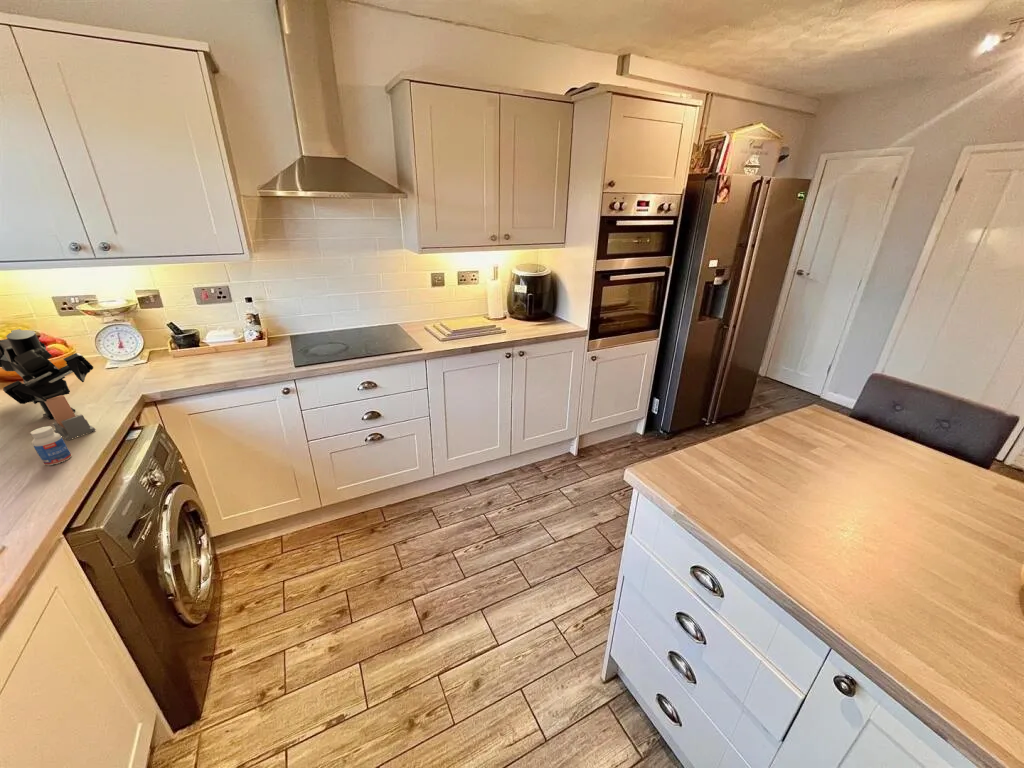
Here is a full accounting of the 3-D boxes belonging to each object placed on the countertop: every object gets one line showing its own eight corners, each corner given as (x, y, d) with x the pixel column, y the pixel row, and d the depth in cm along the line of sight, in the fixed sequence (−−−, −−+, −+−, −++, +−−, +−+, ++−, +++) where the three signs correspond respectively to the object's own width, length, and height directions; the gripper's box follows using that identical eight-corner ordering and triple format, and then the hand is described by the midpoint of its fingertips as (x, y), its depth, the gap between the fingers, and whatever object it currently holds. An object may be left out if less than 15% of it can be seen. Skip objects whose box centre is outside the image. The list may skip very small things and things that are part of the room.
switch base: (55, 433, 126) (45, 416, 124) (82, 423, 131) (73, 407, 129) (68, 440, 122) (58, 423, 119) (95, 430, 127) (86, 413, 124)
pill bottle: (54, 467, 110) (35, 436, 106) (39, 465, 111) (19, 434, 107) (77, 455, 115) (60, 425, 111) (63, 453, 116) (45, 424, 112)
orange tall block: (60, 428, 126) (43, 400, 122) (77, 422, 129) (61, 394, 125) (63, 430, 125) (46, 401, 121) (80, 424, 128) (64, 396, 124)
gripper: (-25, 366, 114) (-1, 392, 109) (55, 331, 124) (81, 353, 119) (9, 392, 122) (33, 417, 117) (82, 357, 133) (106, 378, 128)
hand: (64, 390), depth 120 cm, fingers open, 9 cm apart
